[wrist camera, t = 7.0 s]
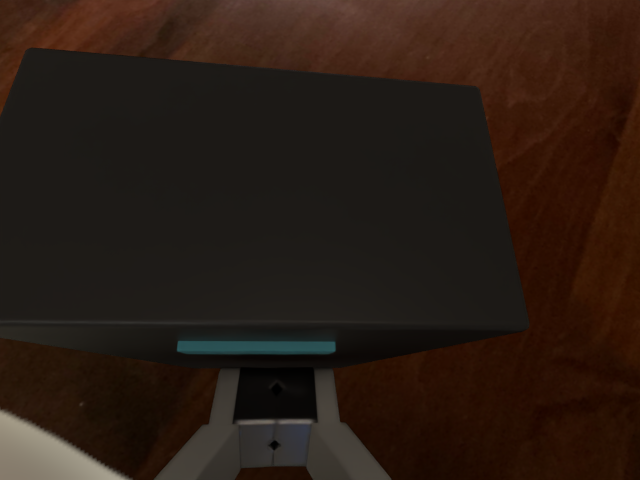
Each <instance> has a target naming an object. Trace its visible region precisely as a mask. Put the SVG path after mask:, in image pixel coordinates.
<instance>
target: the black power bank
mask: <svg viewBox="0 0 640 480" xmlns="http://www.w3.org/2000/svg"><path fill="white" fill-rule="evenodd" d="M528 328H529V319H528V314H527V310H526V305H525V300H524V296H523V291H522V286H521V282H520V277H519V272H518V267H517V263H516V258H515V253H514V249H513V244H512V239H511V234H510V230H509V225H508V220H507V216H506V211H505V206H504V201H503V197H502V192H501V187H500V183H499V178H498V173H497V168H496V164H495V159H494V154H493V150H492V145H491V140H490V136H489V131H488V126H487V121H486V117H485V112H484V107H483V103H482V98H481V93H480V90H479V88H478V87H476V86H467V85H455V84H444V83H432V82H421V81H410V80H398V79H387V78H375V77H364V76H352V75H341V74H329V73H318V72H306V71H295V70H283V69H272V68H261V67H249V66H238V65H226V64H215V63H203V62H192V61H180V60H169V59H157V58H146V57H134V56H123V55H111V54H100V53H89V52H77V51H66V50H54V49H43V48H29V49H27V50H26V51H25V54H24V56H23V59H22V61H21V64H20V67H19V69H18V72H17V74H16V77H15V80H14V82H13V85H12V87H11V90H10V93H9V95H8V98H7V100H6V103H5V106H4V108H3V111H2V113H1V116H0V337H1V338H7V339H13V340H19V341H26V342H32V343H38V344H45V345H51V346H57V347H64V348H70V349H76V350H83V351H89V352H95V353H101V354H108V355H114V356H120V357H127V358H133V359H139V360H146V361H152V362H158V363H165V364H171V365H177V366H184V367H190V368H222V367H251V368H282V367H313V368H314V367H331V368H342V367H347V366H352V365H357V364H362V363H367V362H372V361H377V360H382V359H387V358H392V357H397V356H402V355H407V354H412V353H417V352H422V351H427V350H432V349H437V348H442V347H447V346H452V345H457V344H462V343H467V342H472V341H477V340H482V339H487V338H492V337H497V336H502V335H507V334H512V333H517V332H522V331H524V330H526V329H528Z"/></svg>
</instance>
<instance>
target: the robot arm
mask: <svg viewBox="0 0 640 480" xmlns="http://www.w3.org/2000/svg"><path fill="white" fill-rule="evenodd" d="M267 466H307V470H308V472H309V473H310V475H311V477H312V479H313V480H392V479H391V478H390V477H389V475H388V474H387V473H386V472H385V471H384V469H383V468H382V467H381V466H380V464H379V463H378V462H377V461H376V459H375V458H374V457H373V456H372V455H371V453H370V452H369V451H368V450H367V448H366V447H365V446H364V445H363V443H362V442H361V441H360V440H359V439H358V437H357V436H356V435H355V434H354V432H353V431H352V430H351V429H350V427H349V426H348V425H347V424H346V423H341V422H340V419H339V411H338V403H337V396H336V388H335V381H334V373H333V369H332V368H331V367H314V368H313V367H282V368H251V367H222V368H221V370H220V372H219V376H218V381H217V386H216V391H215V396H214V401H213V406H212V411H211V415H210V420H209V424H208V425H202V426H201V427H200V428H199V429H198V431H197V432H196V433H195V434H194V435H193V436H192V437H191V438H190V439H189V441H188V442H187V443H186V444H185V445H184V446H183V447H182V448H181V450H180V451H179V452H178V453H177V454H176V455H175V456H174V457H173V458H172V460H171V461H170V462H169V463H168V464H167V465H166V466H165V467H164V468H163V470H162V471H161V472H160V473H159V474H158V475H157V476H156V477H155V478H154V480H235V478H236V476H237V475H238V473H239V472H240V468H250V467H267Z"/></svg>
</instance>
